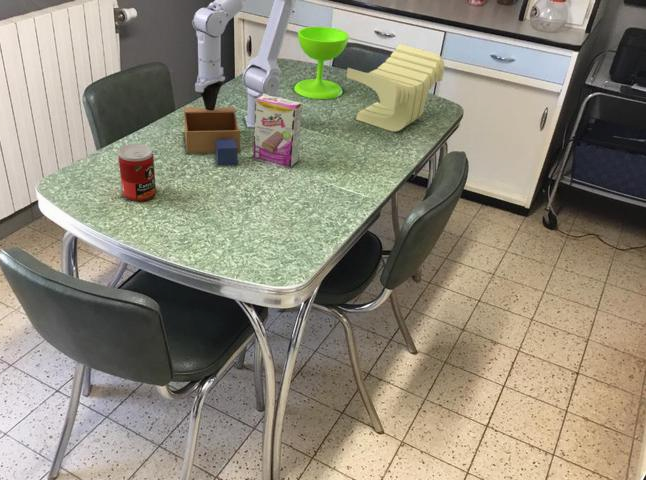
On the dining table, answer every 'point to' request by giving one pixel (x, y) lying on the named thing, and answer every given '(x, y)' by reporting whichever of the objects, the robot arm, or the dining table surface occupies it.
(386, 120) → the slatted curved stool
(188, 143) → the carton
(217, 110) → the flap
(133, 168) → the canned food
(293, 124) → the candy bar box
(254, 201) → the dining table surface
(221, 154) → the cube
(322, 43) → the wineglass
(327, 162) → the dining table surface
